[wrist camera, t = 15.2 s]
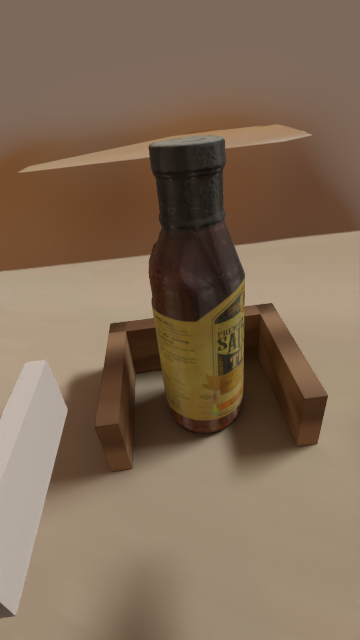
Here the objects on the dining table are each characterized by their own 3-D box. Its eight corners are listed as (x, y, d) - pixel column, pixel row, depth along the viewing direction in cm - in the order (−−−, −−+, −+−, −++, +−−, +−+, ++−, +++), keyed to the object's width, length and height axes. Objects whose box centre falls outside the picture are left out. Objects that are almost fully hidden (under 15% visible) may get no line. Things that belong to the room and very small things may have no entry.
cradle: (317, 443, 24) (327, 395, 21) (111, 471, 24) (94, 426, 21) (268, 345, 34) (271, 303, 31) (121, 364, 33) (110, 323, 31)
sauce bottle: (237, 443, 25) (238, 145, 14) (158, 430, 26) (101, 155, 15) (247, 381, 30) (253, 127, 19) (180, 373, 32) (149, 135, 20)
